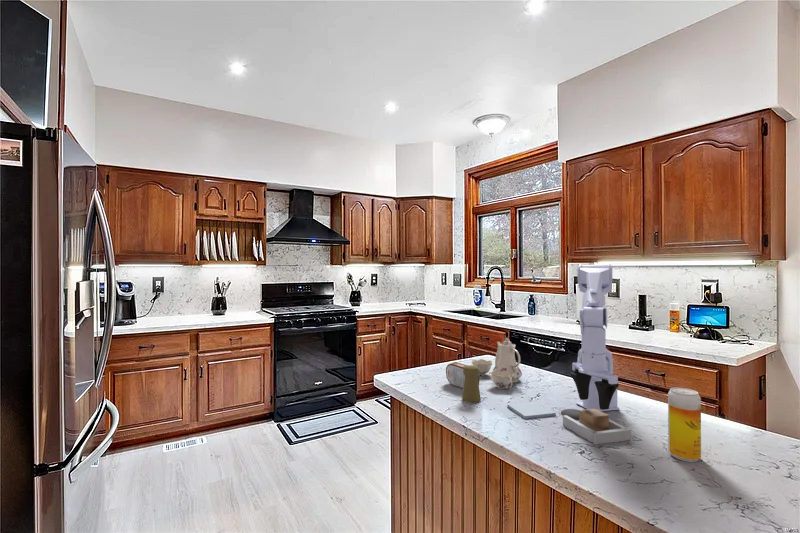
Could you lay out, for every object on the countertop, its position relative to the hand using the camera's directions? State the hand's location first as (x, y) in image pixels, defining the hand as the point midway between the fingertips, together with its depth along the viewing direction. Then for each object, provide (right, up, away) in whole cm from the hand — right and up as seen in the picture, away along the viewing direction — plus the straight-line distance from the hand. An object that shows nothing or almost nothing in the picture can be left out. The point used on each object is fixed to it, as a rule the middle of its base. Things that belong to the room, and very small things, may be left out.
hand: (593, 404), depth 105 cm
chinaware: (-13, -8, +47) cm, 50 cm away
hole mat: (0, -7, +12) cm, 14 cm away
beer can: (+14, -7, -14) cm, 21 cm away
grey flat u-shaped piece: (0, -7, 0) cm, 7 cm away
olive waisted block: (-28, -8, +25) cm, 38 cm away
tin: (-29, -8, +38) cm, 49 cm away
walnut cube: (0, -7, 0) cm, 7 cm away
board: (-12, -7, +15) cm, 20 cm away
